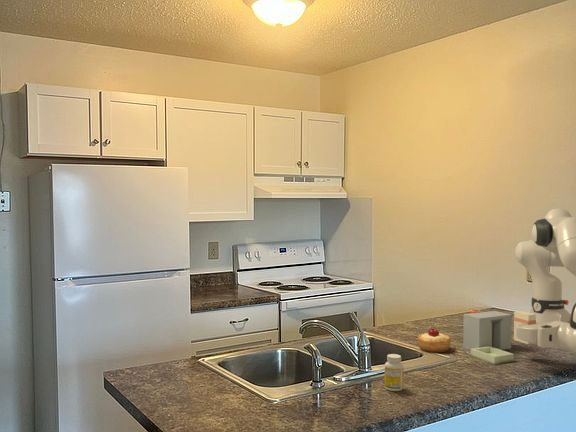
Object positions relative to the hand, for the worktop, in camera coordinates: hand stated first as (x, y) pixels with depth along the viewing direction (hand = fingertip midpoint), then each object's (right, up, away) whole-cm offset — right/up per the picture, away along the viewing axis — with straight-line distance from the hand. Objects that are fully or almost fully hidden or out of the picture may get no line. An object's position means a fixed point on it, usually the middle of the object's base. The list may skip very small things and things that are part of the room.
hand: (524, 325), depth 187 cm
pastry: (-28, -12, +13) cm, 33 cm away
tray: (-11, -12, +2) cm, 16 cm away
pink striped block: (0, -6, 0) cm, 6 cm away
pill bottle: (-7, -11, +30) cm, 33 cm away
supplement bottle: (-52, -13, -30) cm, 61 cm away
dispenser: (-8, -12, +15) cm, 21 cm away
